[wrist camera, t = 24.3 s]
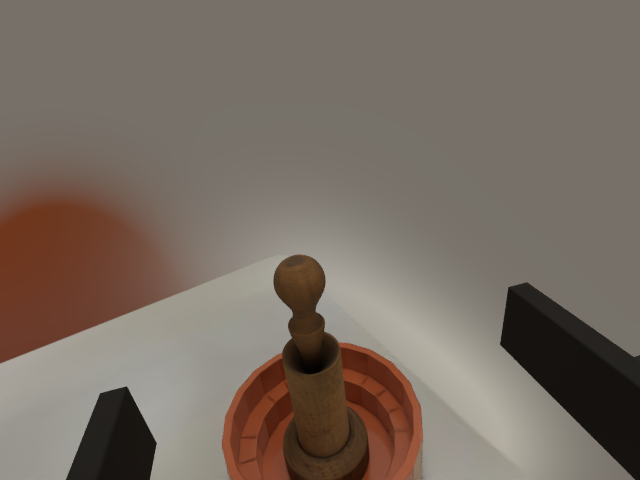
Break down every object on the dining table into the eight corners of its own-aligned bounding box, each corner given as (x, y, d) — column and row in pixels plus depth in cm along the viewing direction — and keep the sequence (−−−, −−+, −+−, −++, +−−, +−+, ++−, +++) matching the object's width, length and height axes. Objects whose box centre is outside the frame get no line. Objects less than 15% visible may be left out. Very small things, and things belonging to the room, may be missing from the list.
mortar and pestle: (320, 522, 24) (276, 312, 16) (271, 452, 29) (218, 263, 21) (386, 456, 28) (378, 256, 20) (333, 404, 32) (308, 225, 24)
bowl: (456, 456, 28) (461, 404, 25) (328, 644, 20) (315, 597, 17) (329, 365, 38) (323, 320, 35) (208, 465, 29) (188, 417, 27)
